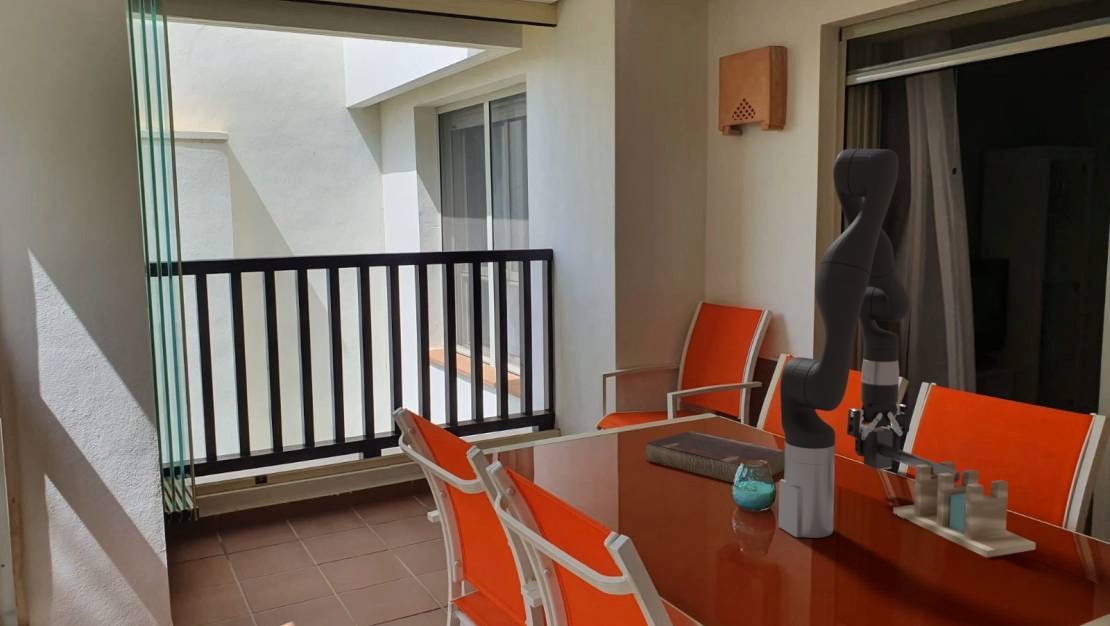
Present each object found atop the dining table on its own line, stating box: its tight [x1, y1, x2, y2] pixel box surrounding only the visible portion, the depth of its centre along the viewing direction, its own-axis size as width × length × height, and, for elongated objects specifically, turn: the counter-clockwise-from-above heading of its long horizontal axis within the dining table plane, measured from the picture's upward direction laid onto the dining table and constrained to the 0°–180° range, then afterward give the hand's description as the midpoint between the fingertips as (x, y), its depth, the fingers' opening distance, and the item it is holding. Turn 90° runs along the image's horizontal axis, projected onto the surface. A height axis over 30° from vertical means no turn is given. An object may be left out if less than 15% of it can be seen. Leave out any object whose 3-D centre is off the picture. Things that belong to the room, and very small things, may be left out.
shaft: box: [863, 427, 961, 484], centre depth 175 cm, size 24×4×8 cm, turn 18°
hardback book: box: [645, 430, 785, 483], centre depth 208 cm, size 29×19×5 cm, turn 44°
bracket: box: [892, 460, 1036, 558], centre depth 162 cm, size 24×11×11 cm, turn 18°
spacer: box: [949, 493, 986, 533], centre depth 160 cm, size 4×6×6 cm, turn 108°
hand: (877, 453), depth 185 cm, fingers open, 8 cm apart
